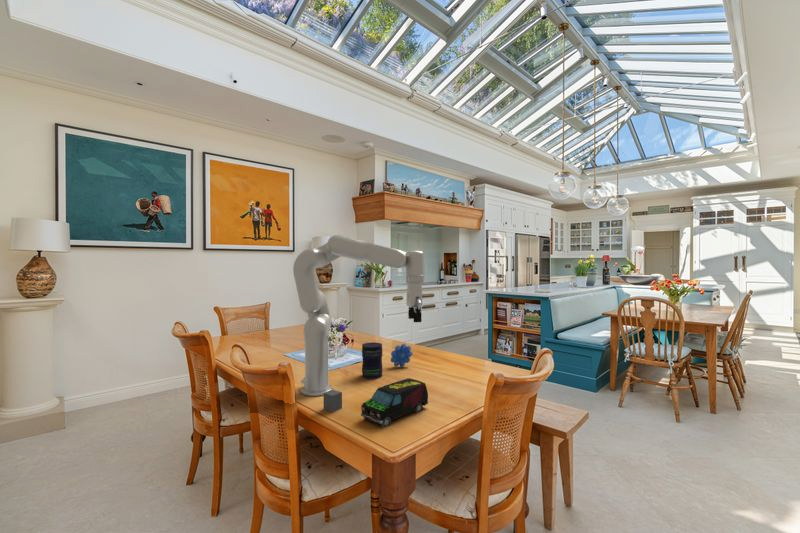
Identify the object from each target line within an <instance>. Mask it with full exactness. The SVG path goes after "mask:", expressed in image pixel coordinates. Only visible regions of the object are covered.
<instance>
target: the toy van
mask: <svg viewBox="0 0 800 533" xmlns="http://www.w3.org/2000/svg"><path fill="white" fill-rule="evenodd" d="M428 398H429V392H428V388H427V385H426V383H425V382H423V381H420V380H418V379H414V378H410V377H408V378H405V379H401V380H398V381H394V382H392V383H388V384H385V385H382V386H380V387H378V388H377V389H375V391H374V393H373V394H372V397H371V398H369V399H367V400H366V401H364V402H363V403H362V404H361V407H360V409H361V412H360V416H361V417H363V419H364V420H369V421H371V422H373V423H376V424H380V427H381V428H383V427H385V428H387V427H386V426H388V427H389V426H391V424H392V421H393V420H395V419H398V418H400V417H402V416H404V415H405V416H406V415H407V414H409V413H413V412H414V414H417V413H420V412H422V411H423V408H424V407H425V406H427V405H429V403H430V402H429V400H428Z"/></svg>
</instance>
